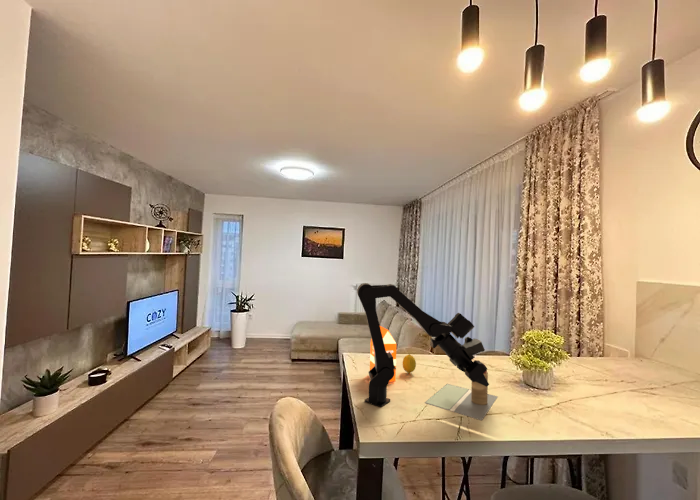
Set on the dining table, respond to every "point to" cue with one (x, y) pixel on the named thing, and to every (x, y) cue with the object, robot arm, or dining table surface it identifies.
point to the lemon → (409, 363)
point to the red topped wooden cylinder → (479, 392)
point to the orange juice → (389, 347)
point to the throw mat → (460, 401)
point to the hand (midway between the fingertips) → (483, 381)
